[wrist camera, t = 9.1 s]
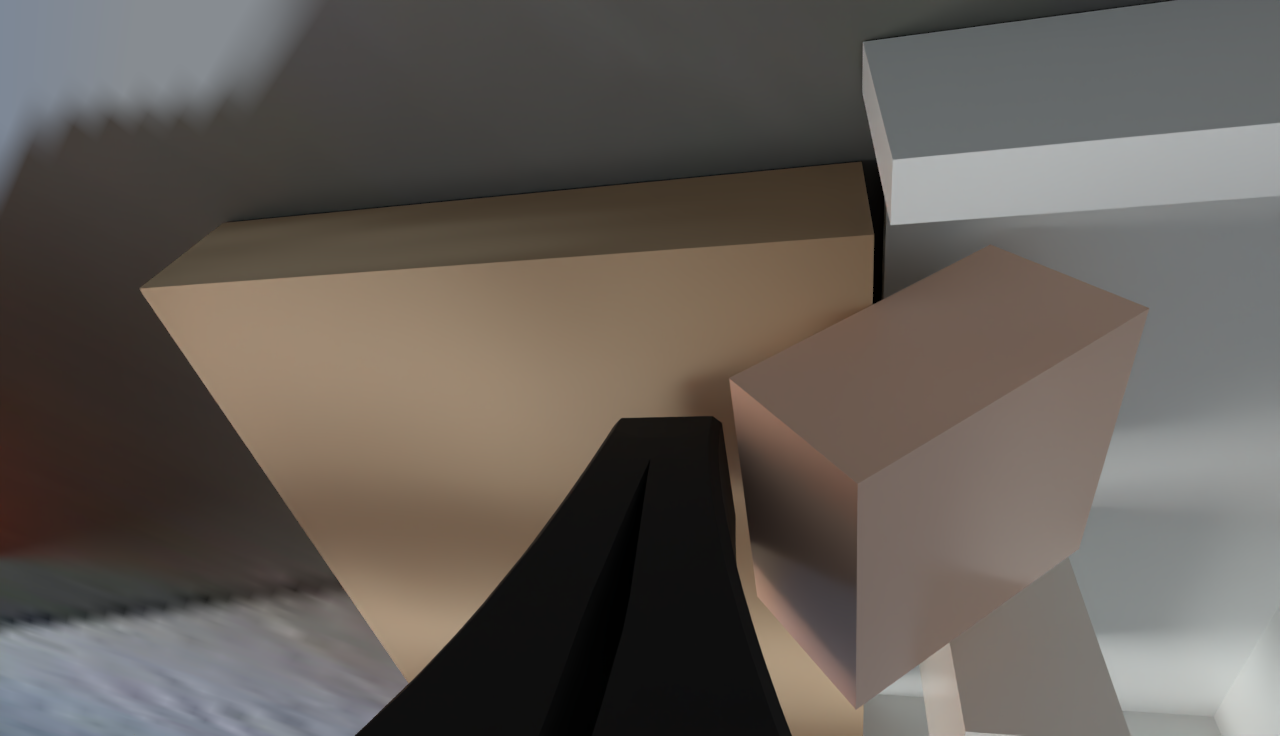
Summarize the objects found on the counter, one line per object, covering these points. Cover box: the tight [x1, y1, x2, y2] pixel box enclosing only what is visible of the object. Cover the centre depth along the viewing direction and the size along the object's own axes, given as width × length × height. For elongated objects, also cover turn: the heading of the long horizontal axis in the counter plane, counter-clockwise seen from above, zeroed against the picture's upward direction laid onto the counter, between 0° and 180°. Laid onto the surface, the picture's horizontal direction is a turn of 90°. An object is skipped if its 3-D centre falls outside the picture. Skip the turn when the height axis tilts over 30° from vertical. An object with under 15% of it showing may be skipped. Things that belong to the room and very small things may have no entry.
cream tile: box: [919, 557, 1131, 736], centre depth 12 cm, size 4×4×2 cm
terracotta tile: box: [729, 244, 1149, 710], centre depth 9 cm, size 4×4×2 cm
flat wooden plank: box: [139, 162, 874, 736], centre depth 14 cm, size 12×10×2 cm
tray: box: [862, 0, 1280, 736], centre depth 11 cm, size 15×8×4 cm, turn 10°
